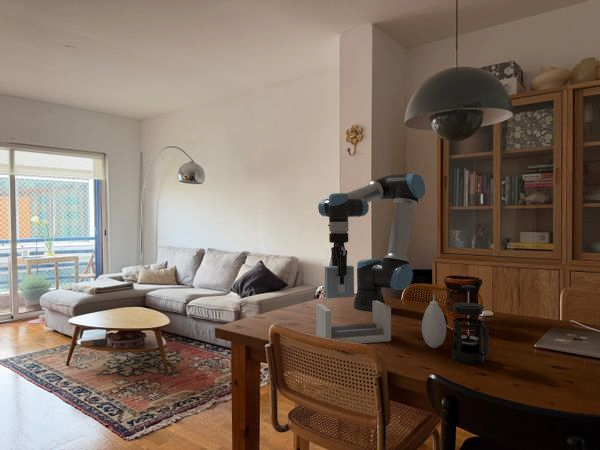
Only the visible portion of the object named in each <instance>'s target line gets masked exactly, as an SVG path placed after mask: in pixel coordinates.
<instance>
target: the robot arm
mask: <svg viewBox="0 0 600 450" xmlns="http://www.w3.org/2000/svg"><path fill="white" fill-rule="evenodd" d="M425 193H426V185H425V181H424V178H423V177H422V176H421V175H420V174H418V173H411V172H410V173H401V174H400V173H399V174H391V175H386V176H383V177H379V178H377V179H376V180H372V181H370V182H369V183H367V185H365V186H363V187H359V188H357V189H355V190H352V191H348V192H346V193H345V192H343V193H342V192H337V193H335V192H334V193H330V194H329V196H328V198H325V199H321V200H320V201H319V203H318V206H317V209H318V213H319V215H321V216H322V217H328V220H329V223H328V225H327V227H328V228H329V229H328V231H329V237H328V240H329V243H332V244H333V247H331V248H330V250H331V266H338V275H337V278H338V293H343V292H345V275H347V266H348V257H347V256H348V249H346V247H345V244H346V243H348V242H349V233H348V232H349V218H357V217H364V216H367V214H368V213H369V209H370V208H369V207H370V205H369V203H371V202H373V201H374V202H378V201H380V200H392V202H393V203H394V209H393V217H392V223H391V228H390V235H389V242H388V250H387V254H386V255H384V257H383V259H382V258H369V259H360V260H359V261H357V266H356V287H357V288H356V293H355V295H354V299H353V308H354V309H356V310H361V311H372V301H379V302H381V303H383V304H385V305H387V304H386V300H385V297H384V294H383V289H390V290H394V291H398V290H399V291H402V290H403V291H404V290H405V289H407V288H408V287H409V286H410V285H411V283H412V281H413V277H414V272H413V267H412V266H411V264H410V261H409V259H408V258H407V256H408V250H409V249H408V248H409V242H410V236H411V228H412V223H413V216H414V209H415V207H416V206H417V205H418V204H419V200H420V199H422V198H423V197H425V195H426V194H425Z"/></svg>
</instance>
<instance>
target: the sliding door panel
mask: <svg viewBox="0 0 600 450" xmlns="http://www.w3.org/2000/svg"><path fill="white" fill-rule="evenodd" d="M337 275H338V266H332V265H331V266H330V265H329V266H324V297H325V298H326V299H341V298H355V267H354V266H353V265H347V275H345V292H343V293H338V278H337Z"/></svg>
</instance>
